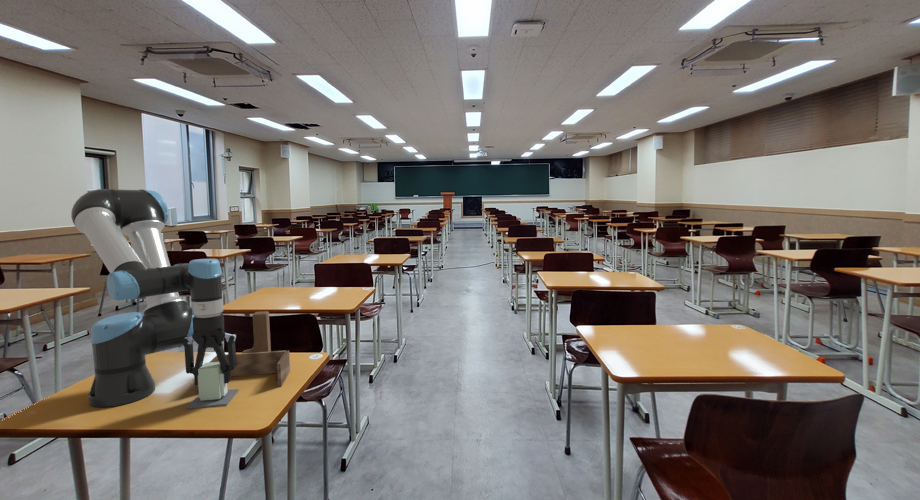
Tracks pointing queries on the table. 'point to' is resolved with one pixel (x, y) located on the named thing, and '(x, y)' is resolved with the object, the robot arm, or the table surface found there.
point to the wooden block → (260, 333)
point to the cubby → (262, 364)
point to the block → (210, 381)
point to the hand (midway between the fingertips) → (213, 394)
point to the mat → (213, 401)
